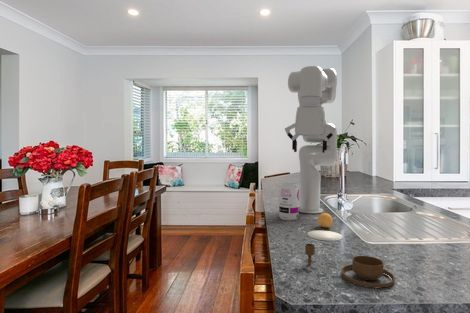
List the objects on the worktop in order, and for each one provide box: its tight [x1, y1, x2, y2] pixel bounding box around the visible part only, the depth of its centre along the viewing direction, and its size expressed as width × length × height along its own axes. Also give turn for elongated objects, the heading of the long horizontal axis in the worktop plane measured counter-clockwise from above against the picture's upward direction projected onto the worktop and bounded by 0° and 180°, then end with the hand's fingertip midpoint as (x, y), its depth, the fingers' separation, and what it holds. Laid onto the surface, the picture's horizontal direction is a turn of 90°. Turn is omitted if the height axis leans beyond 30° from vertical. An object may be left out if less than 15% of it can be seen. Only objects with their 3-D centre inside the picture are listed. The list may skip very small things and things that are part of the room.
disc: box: [307, 229, 344, 242], centre depth 112 cm, size 12×12×1 cm
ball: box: [317, 212, 333, 228], centre depth 124 cm, size 6×6×6 cm
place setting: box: [304, 243, 396, 288], centre depth 80 cm, size 18×20×6 cm
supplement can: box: [278, 182, 300, 222], centre depth 137 cm, size 8×8×15 cm
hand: (309, 152), depth 112 cm, fingers open, 9 cm apart
